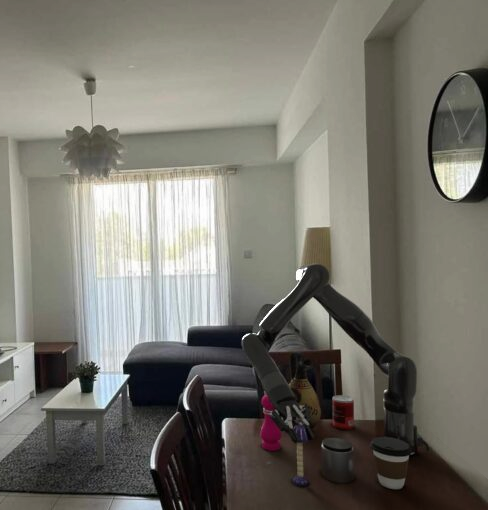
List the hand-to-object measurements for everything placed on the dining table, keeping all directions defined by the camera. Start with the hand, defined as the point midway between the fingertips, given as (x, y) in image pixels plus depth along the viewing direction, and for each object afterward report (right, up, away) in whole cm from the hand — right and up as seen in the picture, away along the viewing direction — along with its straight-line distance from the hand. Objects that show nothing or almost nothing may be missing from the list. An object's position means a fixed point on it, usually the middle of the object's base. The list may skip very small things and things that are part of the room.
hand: (304, 440), depth 136 cm
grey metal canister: (+12, -13, +5) cm, 18 cm away
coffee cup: (+25, -13, 0) cm, 28 cm away
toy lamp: (-1, -13, +2) cm, 13 cm away
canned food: (+31, -13, +46) cm, 56 cm away
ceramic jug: (+12, -13, +43) cm, 46 cm away
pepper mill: (-3, -13, +27) cm, 30 cm away
